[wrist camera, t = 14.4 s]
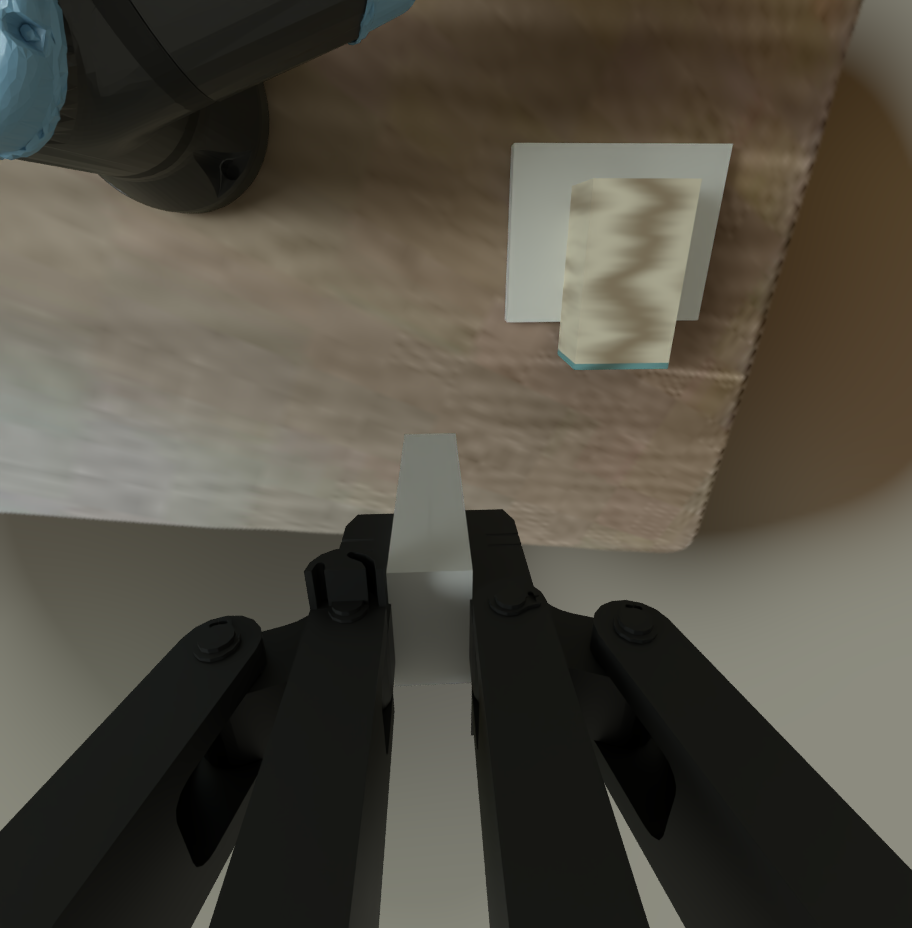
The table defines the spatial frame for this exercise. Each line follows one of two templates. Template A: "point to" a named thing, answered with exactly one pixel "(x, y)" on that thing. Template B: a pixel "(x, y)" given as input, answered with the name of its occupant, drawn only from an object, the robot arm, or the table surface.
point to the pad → (548, 208)
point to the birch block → (625, 271)
